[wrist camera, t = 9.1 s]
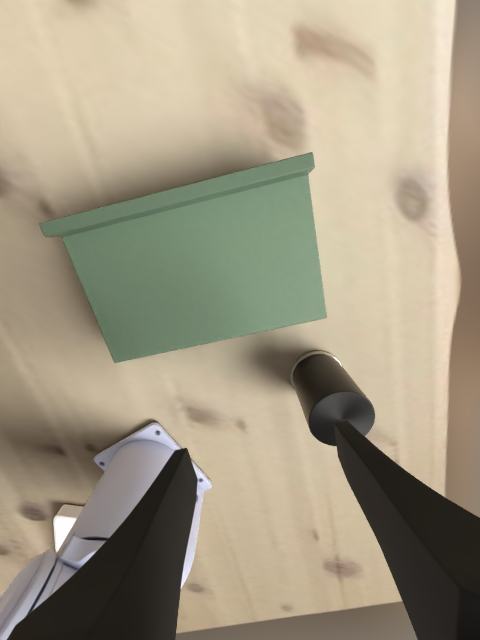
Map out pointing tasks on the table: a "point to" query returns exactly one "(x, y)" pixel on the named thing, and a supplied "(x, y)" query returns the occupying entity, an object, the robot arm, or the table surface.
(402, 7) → the table surface
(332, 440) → the cylinder
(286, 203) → the shelf
